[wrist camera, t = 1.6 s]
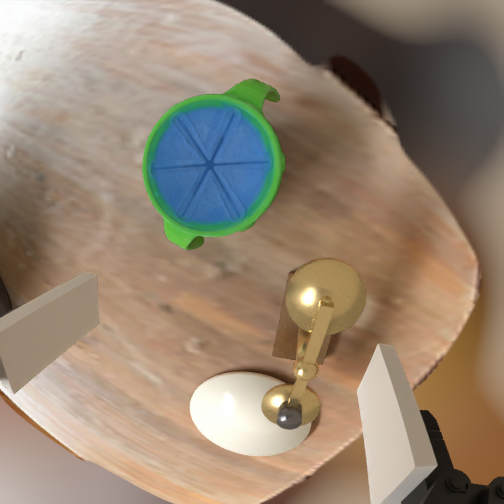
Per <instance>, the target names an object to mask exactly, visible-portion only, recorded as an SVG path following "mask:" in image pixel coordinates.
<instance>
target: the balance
mask: <svg viewBox="0 0 504 504" xmlns="http://www.w3.org/2000/svg"><path fill="white" fill-rule="evenodd" d="M365 303H366V289H365V285H364V282H363V280H362V278H361V276H360V275H359V273H358V272H357V271H356V270H355V269H354V268H353V267H352V266H351V265H350V264H348V263H346V262H344V261H342V260H339V259H335V258H320V259H316V260H312V261H310V262H308V263H306V264H304V265H303V266H302V267H300V268H299V269H298V270H297V271H296V272H295V273H292V272H289V275H288V280H287V285H286V291H285V296H284V301H283V305H282V310H281V315H280V320H279V325H278V330H277V334H276V339H275V344H274V348H273V353H272V356H275V357H280V358H286V359H291V360H296V361H295V363H294V366H293V371H294V374H295V376H296V380H295V383H287V384H281V385H277V386H275V387H273V388H271V389H270V390H268V391H267V392H266V393H265V395H264V397H263V399H262V404H261V409H262V412H263V414H264V416H265V417H266V418H267V419H268V420H269V421H271V422H272V423H274V424H276V425H278V426H279V427H281V428H283V429H287V430H292V429H296V428H298V427H299V426H303V425H306V424H308V423H310V422H312V421H313V420H314V419H315V418H316V417H317V416H318V414H319V412H320V399H319V397H318V395H317V394H316V393H315V392H314V391H313V390H312V389H310V388H309V387H306V386H307V383H308V381H309V380H312V379H313V378H315V377H316V376H317V374H318V372H319V364H321V365H323V362H324V359H325V356H326V352H327V349H328V346H329V343H330V339H331V336H332V334H336V333H339V332H342V331H344V330H346V329H347V328H349V327H350V326H351V325H353V324H354V323H355V322H356V321H357V320H358V318H359V317H360V315H361V314H362V312H363V310H364V307H365Z"/></svg>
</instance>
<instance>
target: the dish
mask: <svg viewBox="0 0 504 504" xmlns="http://www.w3.org/2000/svg"><path fill="white" fill-rule="evenodd" d="M281 384H287V383H285V382H283V381H281V380H279V379H276V378H273V377H271V376H268V375H264V374H260V373H253V372H228V373H223V374H219V375H216V376H213V377H211V378H209V379H207V380H205V381H204V382H203V383H202V384H200V385H199V387H198V388H197V389H196V391H195V392H194V394H193V396H192V399H191V402H190V413H191V417H192V419H193V421H194V423H195V425H196V427H197V428H198V429H199V430H200V432H201V433H202V434H203V435H204V436H205V437H207V438H208V439H209V440H210V441H212V442H213V443H215V444H217V445H219V446H220V447H222V448H225V449H227V450H230V451H232V452H236V453H239V454H244V455H251V456H270V455H276V454H280V453H284V452H286V451H289V450H291V449H293V448H295V447H296V446H298V445H299V444H300V443H301V442H302V441H304V439H305V438H306V437H307V435H308V433H309V432H310V429H311V423H312V422H310V423H308V424H306V425H303V426H299V427H298V428H296V429H292V430H287V429H283V428H281V427H279V426H278V425H276V424H274V423H272V422H271V421H269V420H268V419H267V418H266V417H265V416H264V414H263V412H262V409H261V404H262V399H263V397H264V395H265V393H266V392H267V391H268V390H270V389H271V388H273V387H275V386H277V385H281Z"/></svg>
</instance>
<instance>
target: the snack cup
mask: <svg viewBox="0 0 504 504" xmlns="http://www.w3.org/2000/svg"><path fill="white" fill-rule="evenodd" d="M265 99H267V100H269V101H273V102H278V101H279V100H280V95H279V94H278V92H277V90H276V89H274V88H273V87H272V86H270V85H267V84H265V83H263V82H260V81H259V80H256V79H248V80H244V81H242V82H240V83H239V84H237V85H235V86H234V87H232V88H231V89H230V90H228V91H227V92H225V93H224V94H206V95H199V96H195V97H192V98H189V99H186V100H184V101H183V102H180V103H179V104H176V105H174V106H173V107H171V108H170V109H169V110H168V111H167V113H165V114H164V115H163V116H162V117H161V118H160V120H159V121H158V122H157V124H156V125H155V126H154V128H153V130H152V132H151V133H150V135H149V138H148V140H147V143H146V146H145V150H144V155H143V169H142V172H143V178H144V183H145V187H146V190H147V193H148V195H149V198H150V200H151V202H152V203H153V205H154V207H155V208H156V209H157V211H158V212H159V213H160V214H161V215H162V217H163V220H164V232H165V234H166V236H167V238H168V239H169V240H170V241H171V242H173V243H175V244H177V245H178V246H180V247H181V248H183V249H186V250H190V249H195V248H198V247H200V246H201V245H202V244H203V243H204V238H203V237H220V236H226V235H230V234H233V233H235V232H237V231H245V230H247V229H248V228H250V227H252V226H253V225H254V224H255V222H256V220H257V219H258V218H259V217H260V216H261V215H262V214H263V213H264V212H265V211H266V210H267V209H268V208H269V206H270V205H271V203H272V202H273V200H274V198H275V196H276V194H277V192H278V189H279V186H280V183H281V178H282V173H283V171H284V170H285V155H284V154H283V153H282V150H281V146H280V143H279V140H278V138H277V135H276V133H275V131H274V129H273V128H272V126H271V125H270V123H269V122H268V121H267V119H266V118H265V117H264V115H263V112H262V107H263V104H264V100H265Z"/></svg>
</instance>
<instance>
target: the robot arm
mask: <svg viewBox="0 0 504 504" xmlns="http://www.w3.org/2000/svg"><path fill="white" fill-rule="evenodd" d="M99 324H100V322H99V306H98V276H97V275H96V274H93V273H90V272H87V271H85V272H83V273H81V274H79V275H78V276H76V277H74V278H72V279H70V280H68V281H66V282H64V283H62V284H60V285H59V286H57V287H55V288H53V289H51V290H49V291H47V292H46V293H44V294H42V295H40V296H38V297H36V298H35V299H33V300H31V301H29V302H27V303H26V304H24V305H21V306H17V307H15V308H14V309H11V305H10V301H9V298H8V295H7V292H6V290H5V287H4V285H3V283H2V281H1V279H0V380H1V383H2V385H3V386H4V387H5V388H6V389H7V390H9V391H10V392H11V393H13V394H15V393H16V392H17V391H19V390H20V389H21V388H22V387H23V386H24V385H26V384H27V383H28V382H29V381H30V380H31V379H33V378H34V377H35V376H36V375H37V374H39V373H40V372H41V371H42V370H43V369H45V368H46V367H47V366H48V365H49V364H51V363H52V362H53V361H54V360H55V359H57V358H58V357H59V356H60V355H61V354H63V353H64V352H65V351H66V350H68V349H69V348H70V347H71V346H72V345H74V344H75V343H76V342H77V341H79V340H80V339H81V338H82V337H84V336H85V335H86V334H87V333H89V332H90V331H91V330H92V329H94V328H95V327H96V326H97V325H99ZM357 395H358V401H359V408H360V414H361V421H362V428H363V435H364V443H365V451H366V459H367V468H368V478H369V488H370V500H371V504H400V503H401V504H504V477H497V478H495V479H494V480H493V481H492V482H491V483H490V484H489V485H487V486H486V485H479V484H472V483H471V481H470V479H469V478H468V476H467V475H466V474H465V473H463V472H462V471H459V470H457V469H454V468H453V465H452V462H451V459H450V456H449V453H448V450H447V447H446V445H445V442H444V440H443V437H442V434H441V432H440V429H439V426H438V423H437V421H436V419H435V418H434V417H433V415H432V414H431V413H430V412H429V411H428V410H419V408H418V405H417V402H416V400H415V397H414V394H413V392H412V389H411V387H410V384H409V382H408V379H407V376H406V374H405V371H404V369H403V367H402V364H401V362H400V359H399V357H398V355H397V352H396V350H395V347H394V345H387V344H381V343H378V345H377V347H376V349H375V352H374V354H373V356H372V359H371V361H370V363H369V366H368V368H367V370H366V372H365V375H364V377H363V379H362V381H361V383H360V385H359V388H358V390H357Z"/></svg>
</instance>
